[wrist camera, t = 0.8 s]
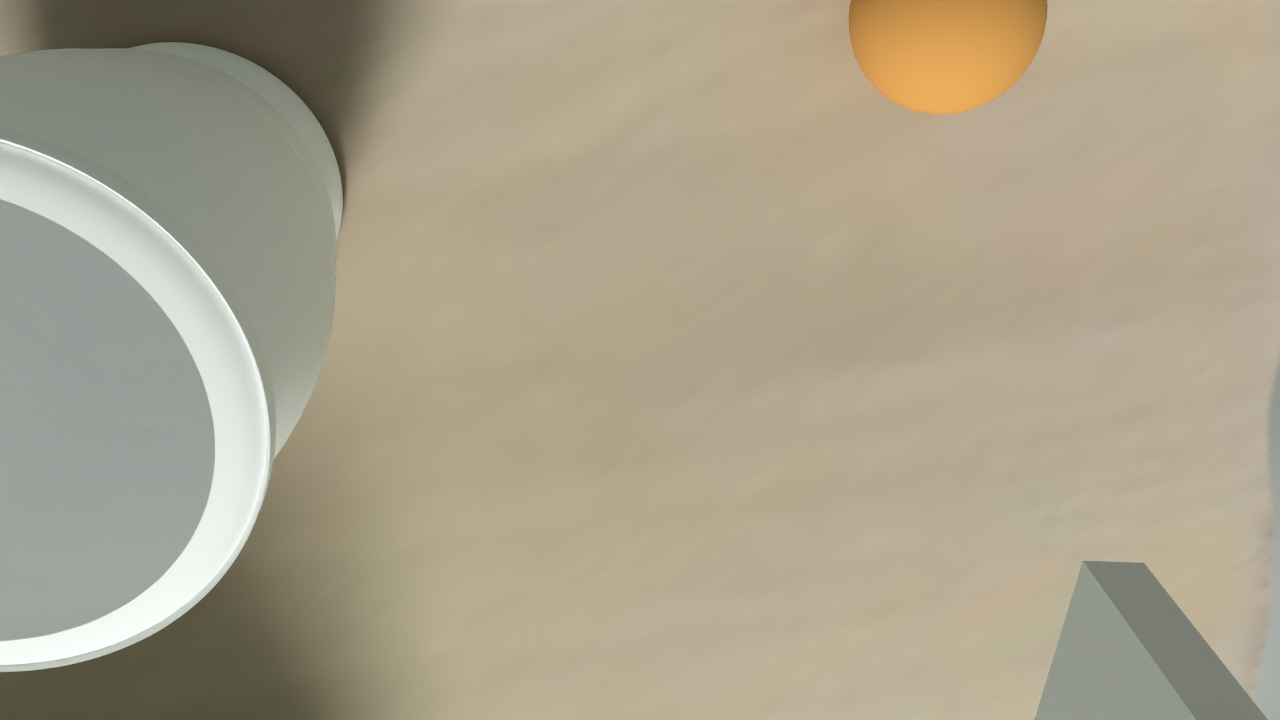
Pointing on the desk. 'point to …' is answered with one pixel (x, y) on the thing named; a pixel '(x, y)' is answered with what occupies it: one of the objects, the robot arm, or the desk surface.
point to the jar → (148, 330)
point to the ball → (945, 49)
